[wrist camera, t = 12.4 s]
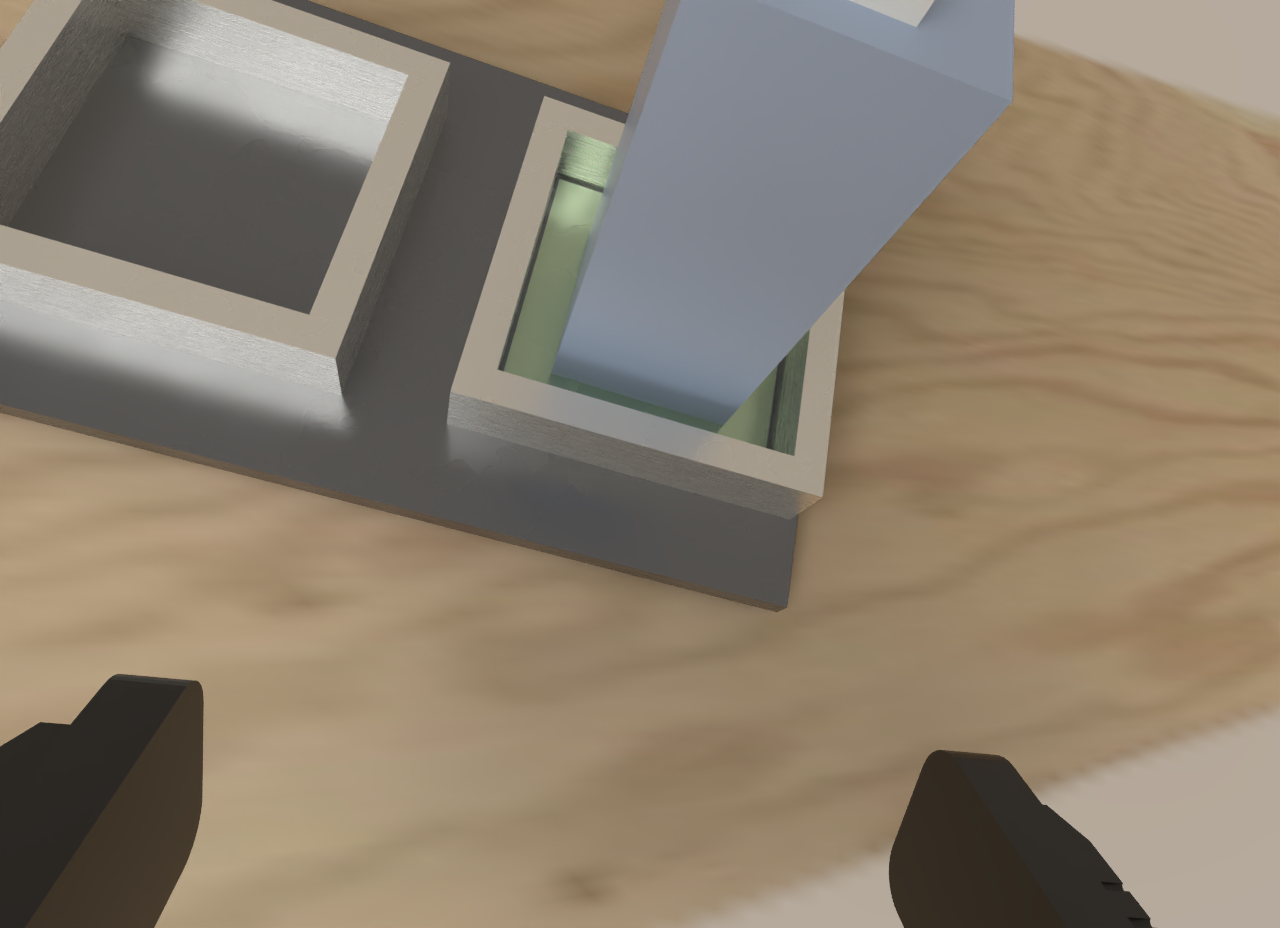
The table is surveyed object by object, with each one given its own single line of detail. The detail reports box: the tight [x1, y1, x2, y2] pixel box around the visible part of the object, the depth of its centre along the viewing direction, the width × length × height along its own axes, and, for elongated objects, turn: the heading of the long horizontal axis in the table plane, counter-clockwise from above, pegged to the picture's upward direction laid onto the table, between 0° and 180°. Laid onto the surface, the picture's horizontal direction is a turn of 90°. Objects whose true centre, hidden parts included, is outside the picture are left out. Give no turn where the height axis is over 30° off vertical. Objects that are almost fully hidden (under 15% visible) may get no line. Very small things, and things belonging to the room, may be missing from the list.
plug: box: [551, 0, 1014, 425], centre depth 16 cm, size 4×4×12 cm
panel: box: [0, 0, 845, 612], centre depth 20 cm, size 20×13×2 cm, turn 78°
